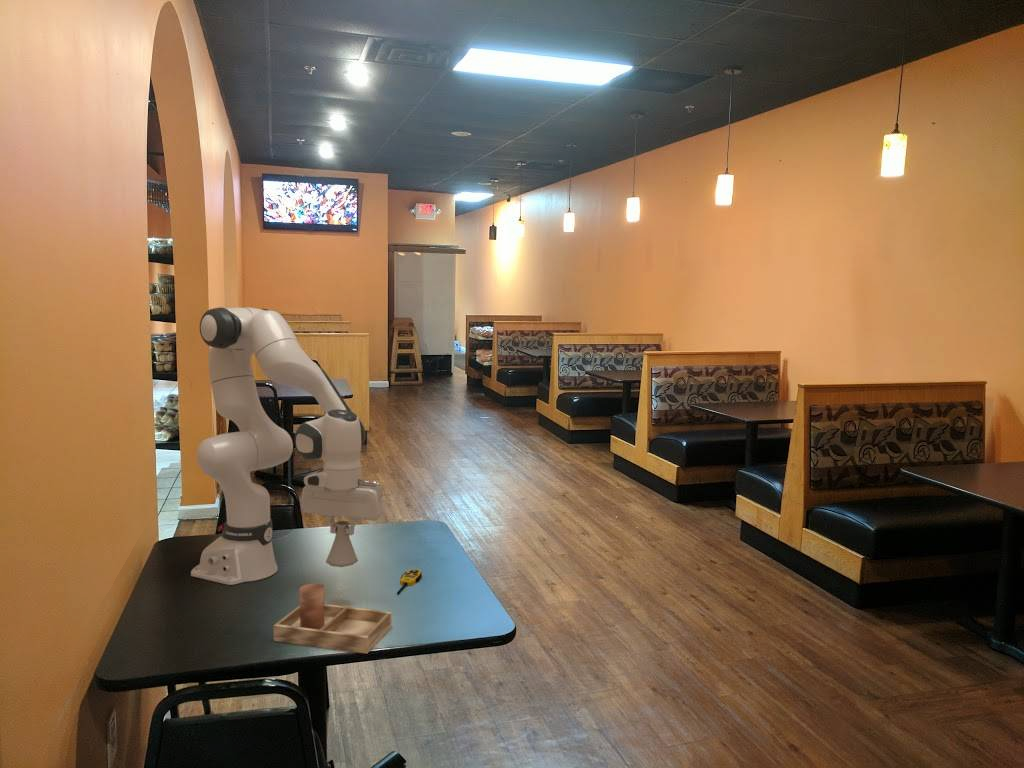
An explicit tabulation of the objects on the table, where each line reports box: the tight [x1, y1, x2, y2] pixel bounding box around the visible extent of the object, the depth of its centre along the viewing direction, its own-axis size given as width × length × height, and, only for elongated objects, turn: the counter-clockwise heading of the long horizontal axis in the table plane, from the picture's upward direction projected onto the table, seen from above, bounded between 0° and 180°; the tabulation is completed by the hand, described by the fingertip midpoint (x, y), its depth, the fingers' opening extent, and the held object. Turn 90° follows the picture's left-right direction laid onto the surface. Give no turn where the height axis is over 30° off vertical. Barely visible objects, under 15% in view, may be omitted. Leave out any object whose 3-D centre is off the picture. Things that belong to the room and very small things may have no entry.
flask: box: [325, 520, 359, 568], centre depth 175 cm, size 7×7×10 cm
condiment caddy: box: [272, 583, 393, 655], centre depth 160 cm, size 22×13×10 cm, turn 76°
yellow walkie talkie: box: [396, 568, 423, 595], centre depth 189 cm, size 5×2×15 cm
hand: (342, 533), depth 174 cm, fingers closed on flask, 3 cm apart
